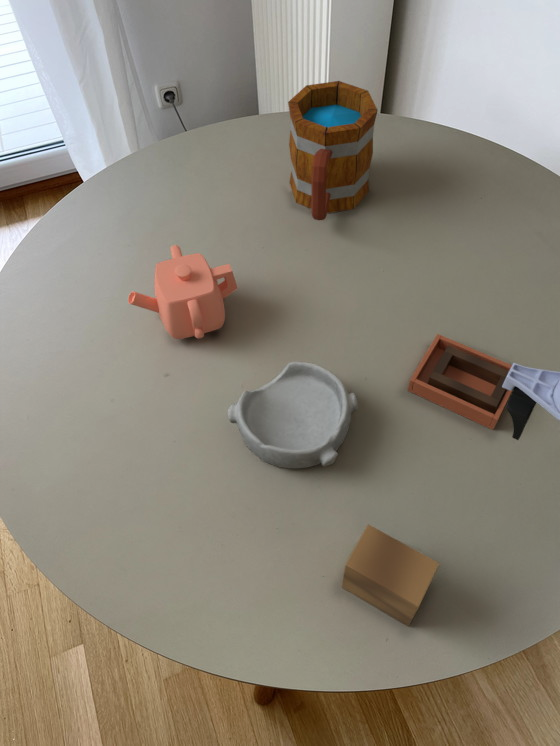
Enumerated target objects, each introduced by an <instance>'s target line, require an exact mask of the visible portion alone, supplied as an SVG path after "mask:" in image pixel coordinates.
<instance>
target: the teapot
mask: <svg viewBox="0 0 560 746" xmlns="http://www.w3.org/2000/svg"><path fill="white" fill-rule="evenodd" d="M170 253H171V258H169V259H166V260H163V261H159V262H157V263H156V264H155V269H154V295H155V296H154V297H153V296H149V295H146V294H143V293H140V292H137V291H130V293H129V295H128V297H127V303H128V304H129V305H132V306H135V307H138V308H141V309H145V310H148V311H150V312H154V313H158V316H159V318H160V320H161V322H162V323H161V324H162V325H163V327H164V328H165V330H166V332H167V333H168V335H169V336H170V337H171V338H173V339H174V340H181V339H186V338H191V337H195V338H196V339H202V338H204V337H205V334H206V333H207V334H208V333H210V332H214V331H217V330H219V329H221V328H222V327H223V325H224V323H225V320H226V310H225V309H226V308H225V303H224V299H226V298H227V297H228V296H229V295H231V294H232V293H234V292H236V290H238V289H239V288H238V284H237V282H236V278H235V274H234V271H233V269H232V267H231V264H230V263H227V264H223V265H219V266H215V267H210V265H209V263H208V261H207V259H206V258H205V256H204V255H203V254H202V253H200V252H198V253H191V254H186V255H183V253H182V249H181V247H180V246H179V245H178V244H173V245H172V246H171V247H170ZM223 278H224V280H223V281H222V282H219V283H218V280H220V279H223Z"/></svg>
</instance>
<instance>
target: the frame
mask: <svg viewBox="0 0 560 746" xmlns="http://www.w3.org/2000/svg"><path fill="white" fill-rule="evenodd" d="M449 365H450V366H452V367H455V368H457V369H459V370H462V371H464V372H466V373H468V374H471V375H473V376H475V377H478V378H480V379H482V380H484V381H487V382H489V383H491V384H493V385H496V387H495V389H494V391H493V393H492V395H491V396H489V395H487V394H485V393H482V392H480V391H478V390H476V389H473V388H471V387H469V386H467V385H464V384H462V383H460V382H458V381H455V380H453V379H451V378H449V377H446V376H444V374H445V372H446V371H447V369H448V367H449ZM508 373H509V371H507V370H505V369H503V368H500V367H498V366H496V365H493V364H491V363H489V362H486V361H484V360H482V359H479V358H477V357H475V356H472V355H470V354H468V353H465V352H463V351H460V350H458V349H456V348H453V347H451V346H449V345H448V346H447V348H446V349H445V351H444V353H443V354H442V356H441V358H440V360H439V361H438V363H437V365H436V366H435V368H434V370H433V372H432V373H431V375H430V377H429V380H428V384H429V385H431V386H433V387H435V388H438V389H440V390H442V391H444V392H446V393H449V394H451V395H453V396H455V397H457V398H460V399H462V400H464V401H466V402H468V403H471V404H473V405H475V406H477V407H479V408H482V409H484V410H486V411H488V412H490V413H493V414H494V412H495V410H496V408H497V406H498V404H499V402H500V400H501V398H502V396H503V394H504V392H505V390H506V389H505V388H503V387H502V385H503V383H504V381H505V379H506V377H507V375H508Z"/></svg>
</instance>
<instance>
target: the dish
mask: <svg viewBox="0 0 560 746" xmlns="http://www.w3.org/2000/svg"><path fill="white" fill-rule="evenodd" d="M357 410H358V400H357V396H356V394H355V393H354V392H350V393H349V392H348V391H347V389H346V387H345V385H344V384H343V382H342V381H341V379H339V378H338V376H336V374H334V373H333V372H331V371H330V370H328V369H327V368H325V367H323V366H321V365H318V364H315V363H311V362H305V361H303V362H302V361H290V362H289V363H288V364H287V365H285V367H284V368H283V370H282V371H281V372H280V373H279V374H278V375H276V376H275V378H273V379H272V380H270V381H268V383H266V384H264V385H262V386H260V387H259V388H256V389H252V390H244V391H242V393H241V395H240V396H239V398H238V401H237V402H236V403H231V404H230V405H229V407H228V408H227V418H228V420H229V423H231V424H236V425H237V427H238V430H239V433H240V435H241V437H242V439H243V442H244V443H245V445H246V446H247V448H248V449H249V450H250V451H251V452H252V454H254V455H255V456H256V457H257V458H258V459H260V460H262V462H265V463H267V464H270V465H272V466H275V467H279V468H282V469H283V468H285V469H305V468H311V467H314V466H318V465H319V464H321V465H322V466H323V467H327V466H330V465H333V464H334V463H335V462H336V459H337V457H338V455H339V453H338V451H337V450H338V449H339V448H340V446H342V444H343V442H344V440H345V439H346V436H347V434H348V431H349V429H350V425H351V419H352V413H353V412H356V411H357Z"/></svg>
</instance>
